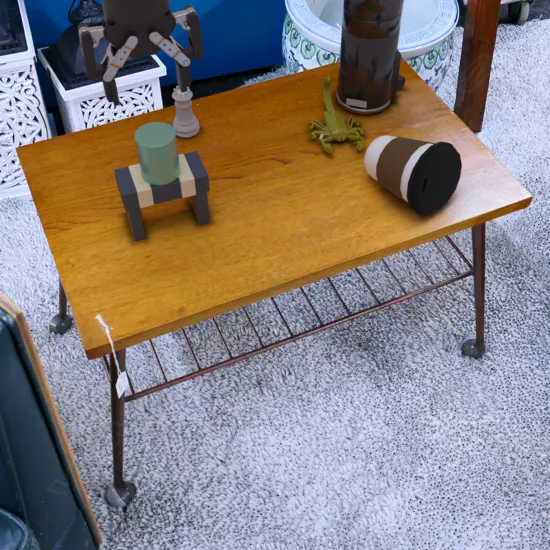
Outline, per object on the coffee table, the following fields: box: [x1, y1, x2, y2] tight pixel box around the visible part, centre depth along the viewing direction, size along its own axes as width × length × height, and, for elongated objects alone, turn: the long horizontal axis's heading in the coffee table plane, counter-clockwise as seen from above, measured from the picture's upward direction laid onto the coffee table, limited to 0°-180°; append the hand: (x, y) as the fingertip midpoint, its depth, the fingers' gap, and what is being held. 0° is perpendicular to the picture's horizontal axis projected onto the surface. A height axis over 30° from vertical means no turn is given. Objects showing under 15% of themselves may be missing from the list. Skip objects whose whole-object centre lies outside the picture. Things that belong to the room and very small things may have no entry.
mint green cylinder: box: [133, 121, 180, 185], centre depth 101 cm, size 5×5×6 cm
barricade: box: [113, 150, 211, 242], centre depth 107 cm, size 12×6×9 cm, turn 110°
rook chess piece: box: [171, 85, 201, 139], centre depth 121 cm, size 4×4×8 cm
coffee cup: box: [363, 135, 463, 215], centre depth 111 cm, size 11×11×12 cm
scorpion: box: [308, 76, 365, 154], centre depth 122 cm, size 9×15×6 cm, turn 11°
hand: (149, 95), depth 94 cm, fingers open, 8 cm apart
